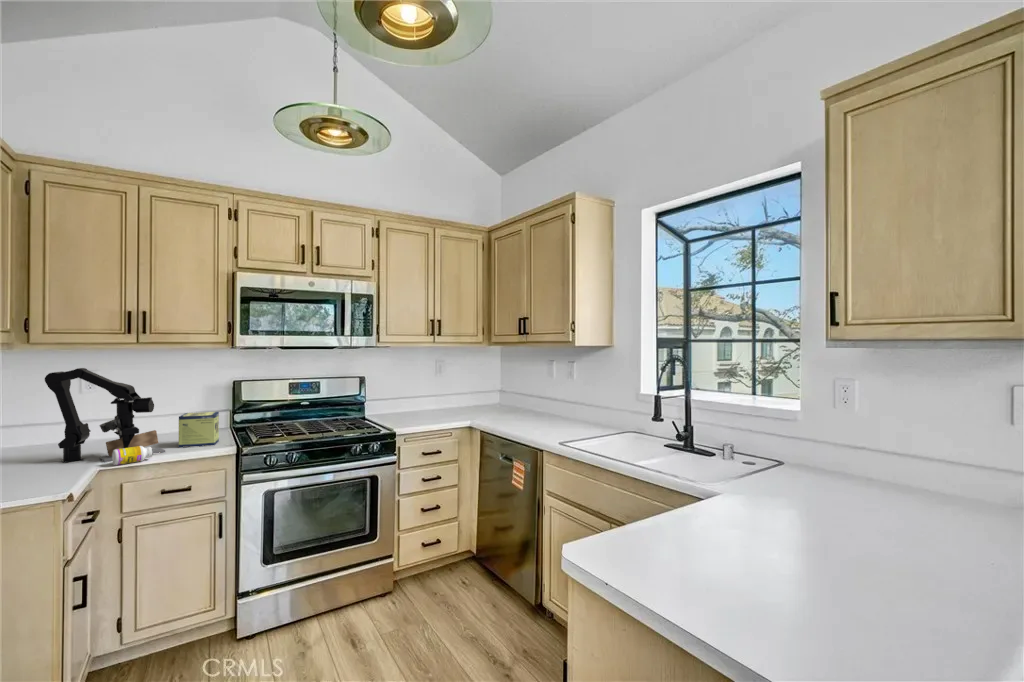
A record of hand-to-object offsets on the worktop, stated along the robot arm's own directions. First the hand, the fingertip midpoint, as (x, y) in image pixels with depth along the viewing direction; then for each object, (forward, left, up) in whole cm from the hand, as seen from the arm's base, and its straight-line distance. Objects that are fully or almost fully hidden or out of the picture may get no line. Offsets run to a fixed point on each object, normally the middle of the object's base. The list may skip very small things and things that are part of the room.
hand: (124, 447), depth 212 cm
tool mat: (0, +3, -4) cm, 5 cm away
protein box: (-2, +30, -4) cm, 30 cm away
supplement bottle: (+13, -7, -1) cm, 15 cm away
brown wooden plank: (0, +3, -1) cm, 4 cm away
